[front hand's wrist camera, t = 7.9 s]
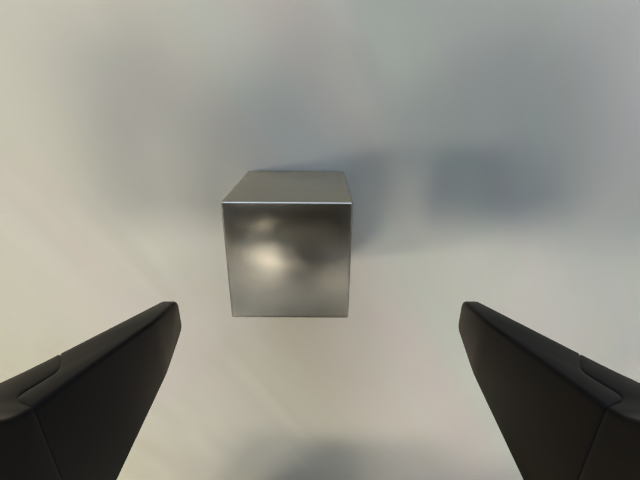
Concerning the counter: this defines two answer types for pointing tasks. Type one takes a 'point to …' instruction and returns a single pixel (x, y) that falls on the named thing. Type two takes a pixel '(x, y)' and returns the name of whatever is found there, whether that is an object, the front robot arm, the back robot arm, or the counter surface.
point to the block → (288, 244)
